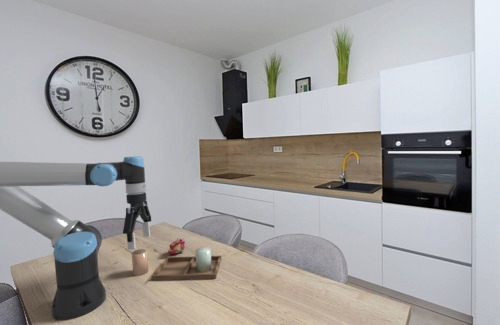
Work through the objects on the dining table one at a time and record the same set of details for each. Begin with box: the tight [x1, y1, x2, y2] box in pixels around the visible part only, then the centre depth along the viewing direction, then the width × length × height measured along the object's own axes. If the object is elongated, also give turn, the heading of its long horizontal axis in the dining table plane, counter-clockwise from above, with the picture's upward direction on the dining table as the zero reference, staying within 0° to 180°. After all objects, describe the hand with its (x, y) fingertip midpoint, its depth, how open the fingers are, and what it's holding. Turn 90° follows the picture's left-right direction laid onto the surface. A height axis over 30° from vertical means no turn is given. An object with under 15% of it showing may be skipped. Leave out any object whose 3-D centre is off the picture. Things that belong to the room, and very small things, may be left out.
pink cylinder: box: [131, 248, 149, 277], centre depth 103 cm, size 6×6×9 cm
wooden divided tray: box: [151, 255, 222, 282], centre depth 103 cm, size 17×25×2 cm
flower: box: [167, 238, 186, 255], centre depth 120 cm, size 10×9×8 cm
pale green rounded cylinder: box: [195, 246, 212, 272], centre depth 103 cm, size 6×6×8 cm
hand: (139, 242), depth 103 cm, fingers open, 13 cm apart
